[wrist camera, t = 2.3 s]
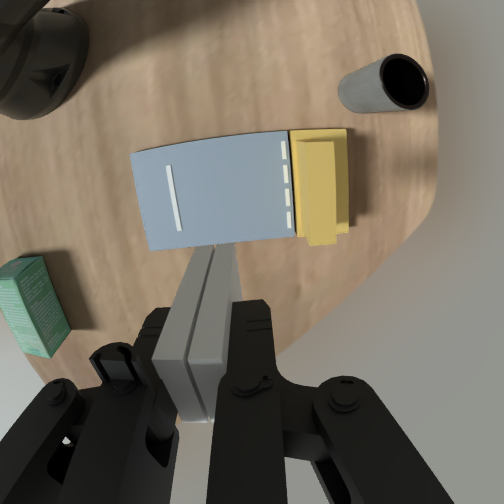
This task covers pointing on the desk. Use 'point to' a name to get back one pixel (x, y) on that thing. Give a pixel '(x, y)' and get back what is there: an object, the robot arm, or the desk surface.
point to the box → (32, 306)
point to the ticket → (215, 191)
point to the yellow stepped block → (320, 184)
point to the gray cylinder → (385, 86)
